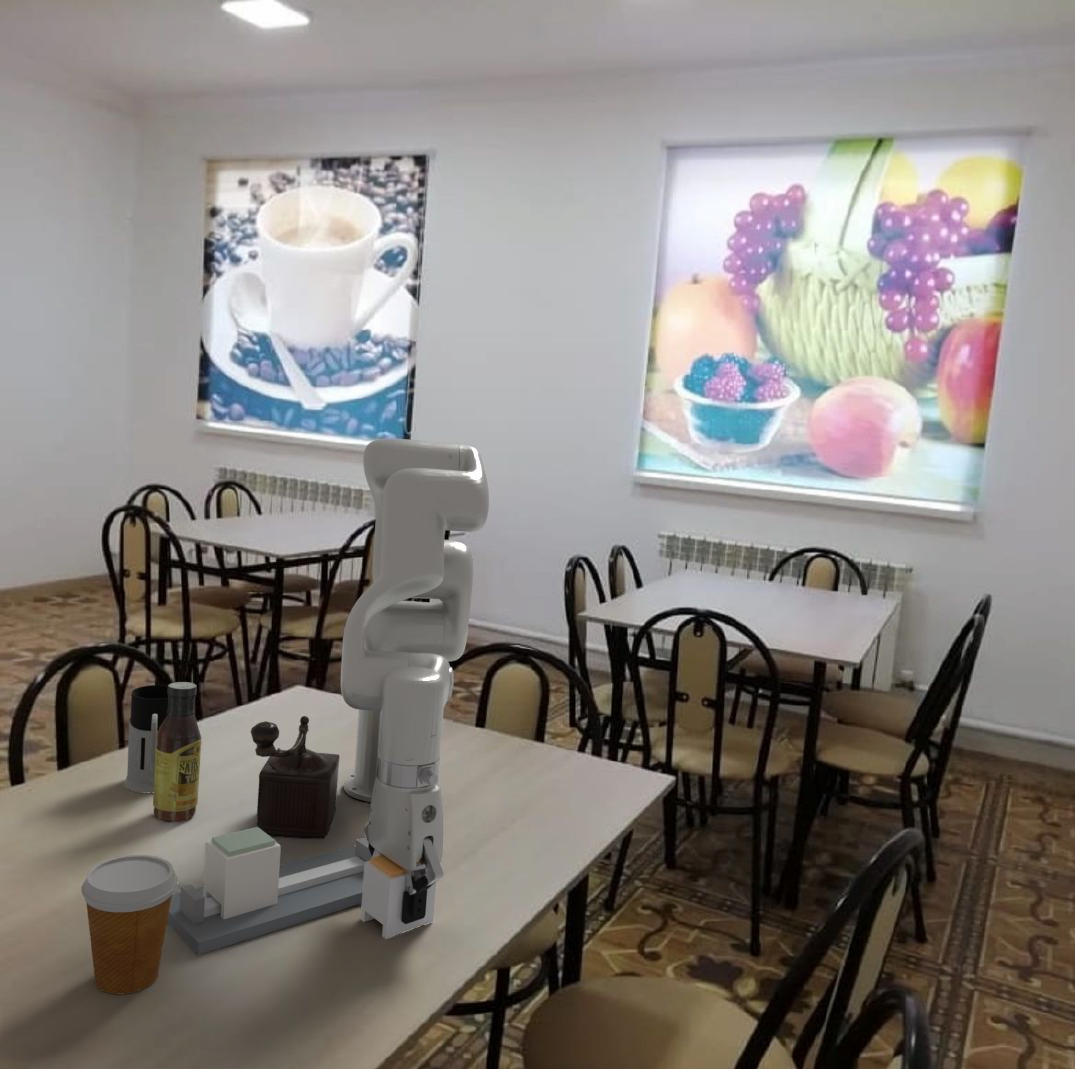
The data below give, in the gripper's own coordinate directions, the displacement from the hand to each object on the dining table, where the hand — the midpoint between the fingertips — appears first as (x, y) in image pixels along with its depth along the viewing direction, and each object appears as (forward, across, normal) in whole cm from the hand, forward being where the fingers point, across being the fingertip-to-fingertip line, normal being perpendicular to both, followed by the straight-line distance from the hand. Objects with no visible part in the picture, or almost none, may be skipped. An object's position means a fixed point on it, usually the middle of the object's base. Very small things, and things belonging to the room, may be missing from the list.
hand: (397, 907), depth 125 cm
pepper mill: (+2, +30, -2) cm, 30 cm away
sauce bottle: (+2, +43, +10) cm, 44 cm away
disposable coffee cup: (+2, +6, +31) cm, 32 cm away
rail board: (+2, +12, +9) cm, 15 cm away
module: (+2, 0, 0) cm, 2 cm away
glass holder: (+2, +54, +9) cm, 55 cm away
